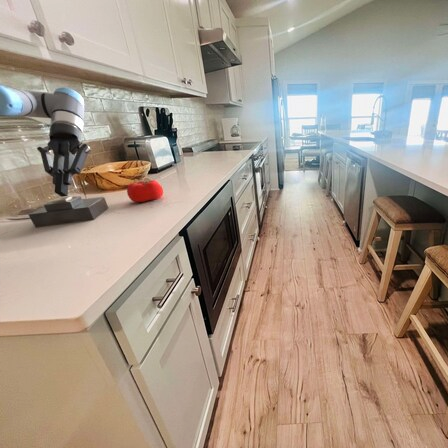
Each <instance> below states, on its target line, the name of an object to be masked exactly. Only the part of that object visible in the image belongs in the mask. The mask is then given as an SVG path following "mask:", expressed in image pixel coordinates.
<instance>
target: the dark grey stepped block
mask: <svg viewBox="0 0 448 448" xmlns="http://www.w3.org/2000/svg"><path fill="white" fill-rule="evenodd" d="M72 198H73V199H71V200H69V201H66V202H57V203H53V202H52V201H53V200H51V201H49V202H47V203H45V204H43V206H42V207H40V208H39V209H36V210H35V211H32V212H30V213H28V217H29V219H30V221H31V222H32V224H33V227H34V228H35V229H36V228H43V227H51V226H58V225H66V224H73V223H80V222H81V223H82V222H88V221H94V220H96V219H97V218H98V217H99V216H101V215H102V214H103V213H105V212H106V211H107V210H108V209H109V205H108V203H107V200H106V197H105V196H97V197H90V198H82V196H81V195H79V196H78V195H77V196H72Z"/></svg>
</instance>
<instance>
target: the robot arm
mask: <svg viewBox="0 0 448 448" xmlns="http://www.w3.org/2000/svg"><path fill="white" fill-rule="evenodd" d="M85 111H86V109H85V100H84V98H83V97H82V95H81V94H80V93H79V92H77V91H76V90H73V89H71V88H68V87H58V88H56V89H55V90H54V92H53V93H48V92H39V91H38V92H37V91H31V90H25V89H21V88H15V87H11V86H7V85H4V84H2V83H0V116H1V117H22V118H23V117H27V118H41V119H50V123H49V124H50V126H49V133H48V136H49V137H48V138H49V141H48V142H47V145H46V146H44V147H42V146H37V148H36V150H37V151H38V152H39V153H40V156H41V161H42V165H43V169H44V172H45V173H46V174H48V175H49V176H51V177H52V184H53V185H54V193H55V194H56V195H58V196H59V197H60V198H61V197H69V196H68V194H69V186H71V185H72V183H73V177H74V175H80V174H81V173H82V170H83V168H84V165H85V162H86V160H87V157H88V155H89V154H90V153H91V152H92V149H91V147H90V146H89V145H88V144H87V143H83V138H84V137H83V135H84V119H85V118H84V117H85ZM52 153H53V157H52Z"/></svg>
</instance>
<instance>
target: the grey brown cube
mask: <svg viewBox="0 0 448 448" xmlns="http://www.w3.org/2000/svg"><path fill="white" fill-rule="evenodd" d="M72 197H73V196H64V197H61V196H60V197H56V198H55V199H53V200H51V201H52V202H53V203H57V202H66V201H69V200H71V199H73V198H72Z"/></svg>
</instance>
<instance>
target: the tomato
mask: <svg viewBox="0 0 448 448" xmlns="http://www.w3.org/2000/svg"><path fill="white" fill-rule="evenodd" d="M126 193H127V197H128V198H129V199H130V200H131V201H132V202H136V203H145V202H148V201H155V200H157V199H160V198H161V197H163V195H164V188H163V186H162V185H161V184H160V183H159V181H157V180H155V179H151V180H146V181H145V180H141V181H137V182H132V183H131V182H130V183H129V184H128V185H127V189H126Z"/></svg>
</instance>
